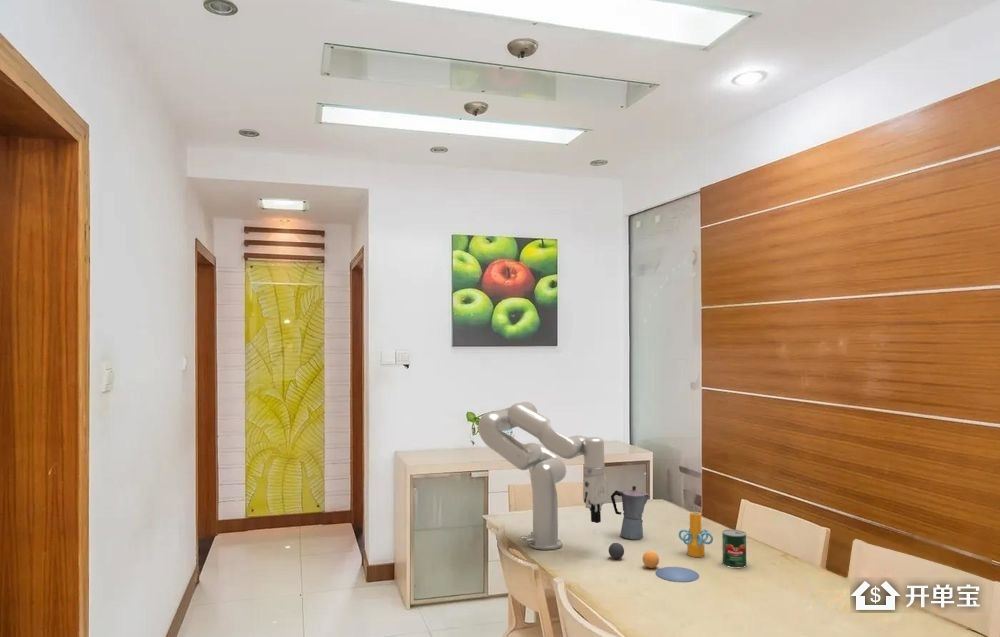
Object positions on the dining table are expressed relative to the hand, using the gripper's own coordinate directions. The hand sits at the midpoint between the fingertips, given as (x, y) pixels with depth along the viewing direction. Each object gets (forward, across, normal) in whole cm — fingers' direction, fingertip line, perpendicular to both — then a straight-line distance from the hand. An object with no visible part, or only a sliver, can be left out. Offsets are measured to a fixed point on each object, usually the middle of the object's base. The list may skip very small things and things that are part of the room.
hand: (595, 521), depth 247 cm
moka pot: (+12, +26, +2) cm, 28 cm away
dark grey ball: (+9, 0, -9) cm, 12 cm away
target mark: (+12, 0, -33) cm, 35 cm away
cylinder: (+12, +23, -27) cm, 38 cm away
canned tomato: (+13, +22, -42) cm, 49 cm away
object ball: (+9, 0, -23) cm, 24 cm away
